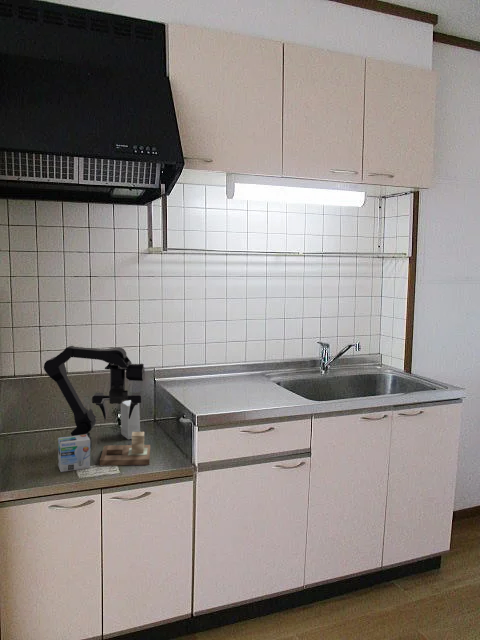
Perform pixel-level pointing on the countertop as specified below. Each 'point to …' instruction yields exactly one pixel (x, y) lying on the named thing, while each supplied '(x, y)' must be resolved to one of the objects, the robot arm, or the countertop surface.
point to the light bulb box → (73, 452)
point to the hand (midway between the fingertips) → (117, 419)
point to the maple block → (137, 442)
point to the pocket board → (124, 455)
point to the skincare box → (133, 422)
